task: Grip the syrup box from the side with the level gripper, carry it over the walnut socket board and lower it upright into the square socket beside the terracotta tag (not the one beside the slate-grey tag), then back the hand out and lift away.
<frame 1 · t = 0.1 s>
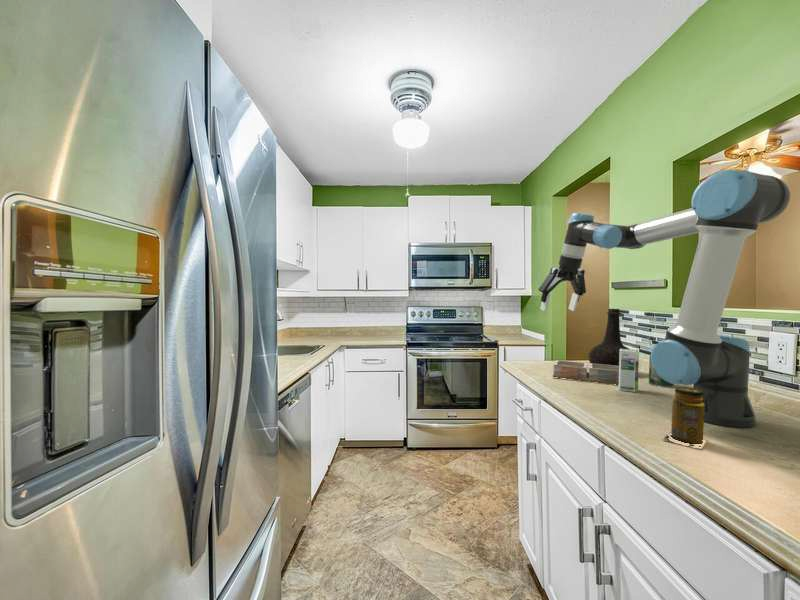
hand: (557, 310, 148), 28 cm above the countertop, tool tilted 20°, fingers open, 13 cm apart
glass bottle: (611, 373, 167), on the countertop
syrup box: (627, 390, 137), on the countertop
condiment: (685, 441, 90), on the countertop
canned tomato: (660, 385, 146), on the countertop
socket board: (587, 377, 156), on the countertop
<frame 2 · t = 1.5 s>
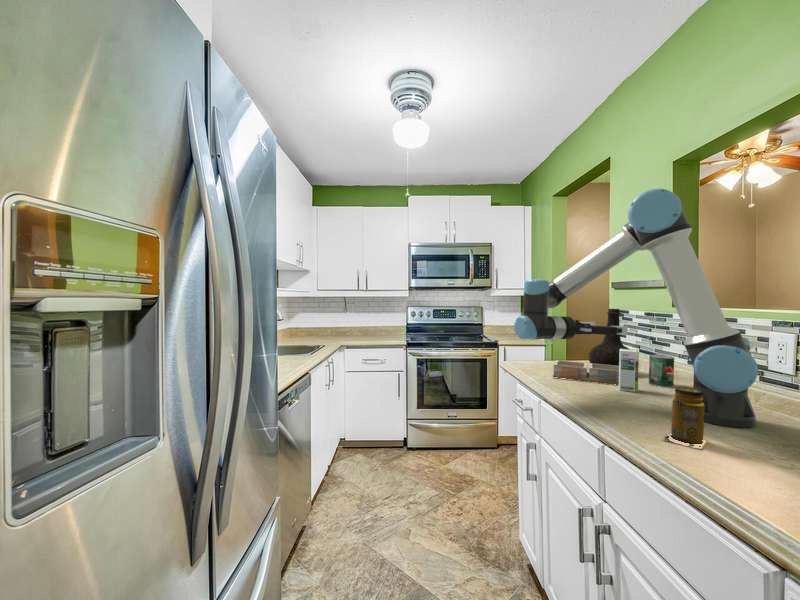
hand: (610, 327, 134), 22 cm above the countertop, tool horizontal, fingers open, 13 cm apart
nothing on the countertop moved.
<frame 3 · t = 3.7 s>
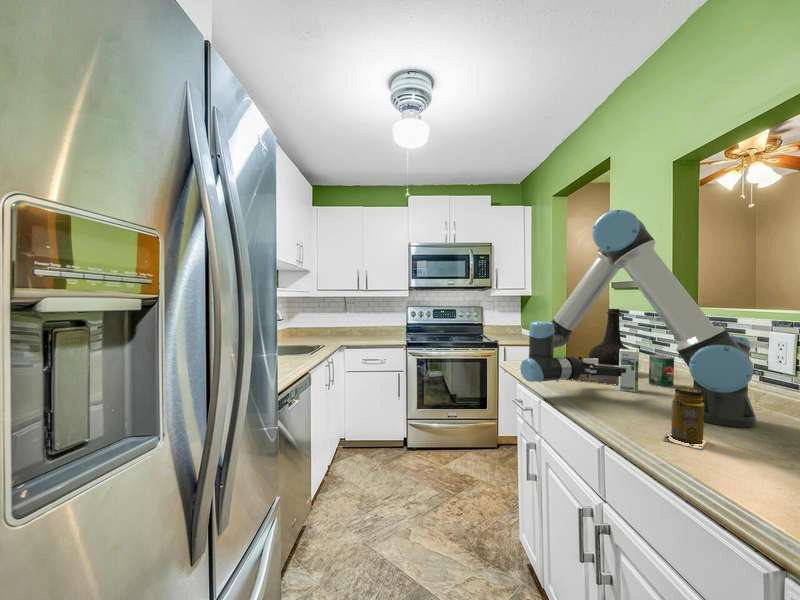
hand: (613, 365, 135), 9 cm above the countertop, tool horizontal, fingers open, 13 cm apart
nothing on the countertop moved.
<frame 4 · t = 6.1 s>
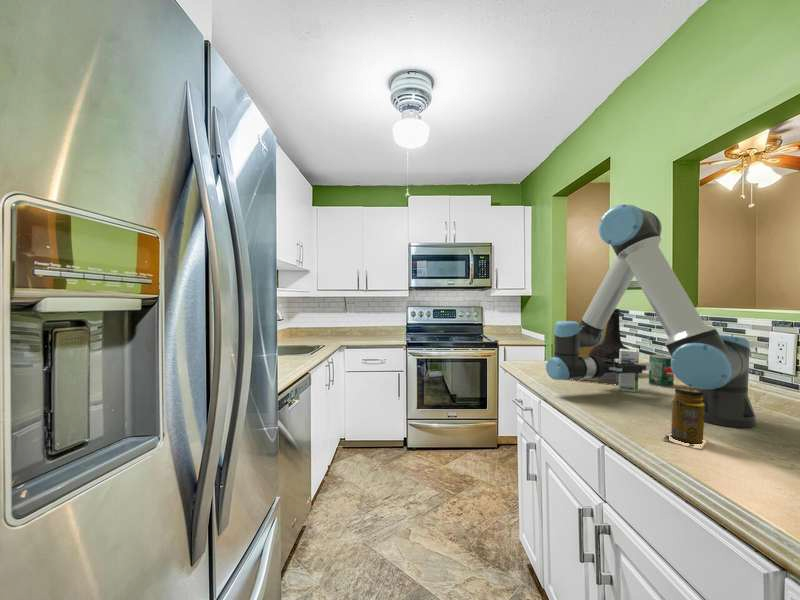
hand: (638, 364, 138), 9 cm above the countertop, tool horizontal, fingers closed on syrup box, 8 cm apart
syrup box: (627, 390, 137), on the countertop, touching gripper
everything else where it was.
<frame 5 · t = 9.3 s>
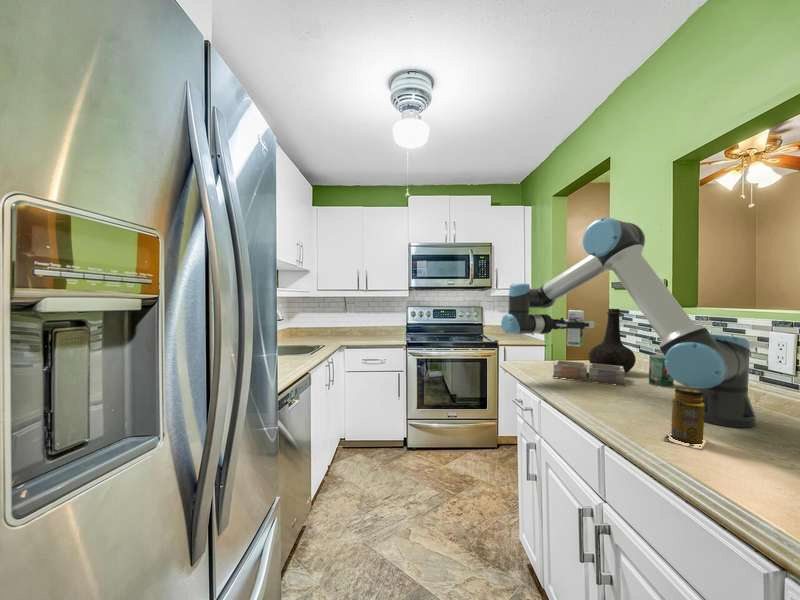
hand: (584, 323, 158), 22 cm above the countertop, tool horizontal, fingers closed on syrup box, 8 cm apart
syrup box: (574, 346, 157), point 13 cm above the countertop, touching gripper
everything else where it was.
when the fingers open (11 cm above the countertop, at t = 12.8 s): syrup box stays where it is, resting on socket board.
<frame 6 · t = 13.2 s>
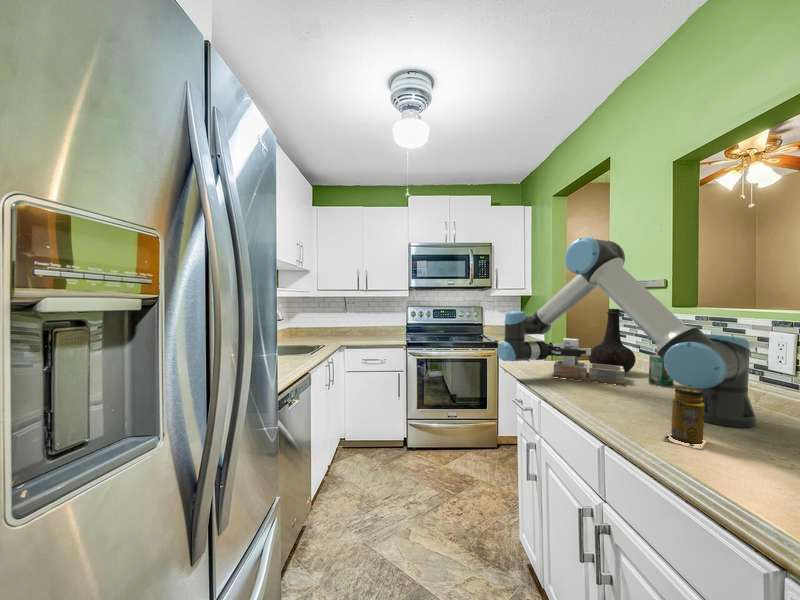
hand: (577, 349, 160), 11 cm above the countertop, tool horizontal, fingers open, 13 cm apart
syrup box: (570, 373, 159), point 1 cm above the countertop, touching socket board
everything else where it was.
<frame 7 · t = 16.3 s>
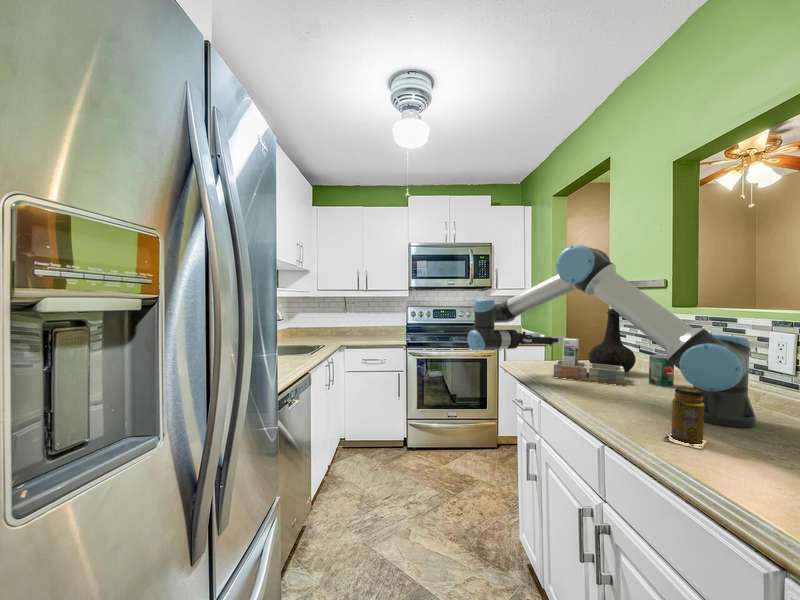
hand: (551, 337, 156), 16 cm above the countertop, tool horizontal, fingers open, 13 cm apart
nothing on the countertop moved.
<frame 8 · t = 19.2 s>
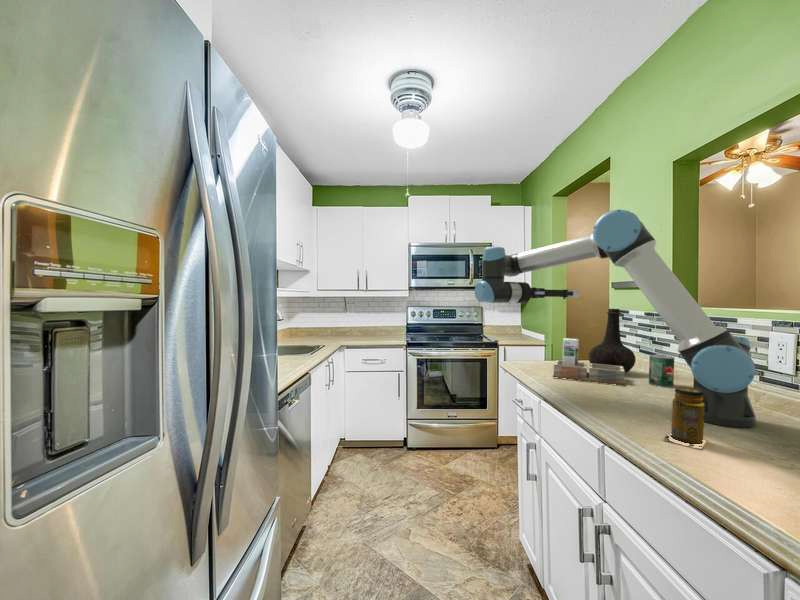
hand: (564, 293, 144), 34 cm above the countertop, tool horizontal, fingers open, 13 cm apart
nothing on the countertop moved.
at the end: syrup box 0.1 cm from the target spot, point 0.8 cm above the countertop; syrup box tilted 0°; the gripper is holding nothing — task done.
